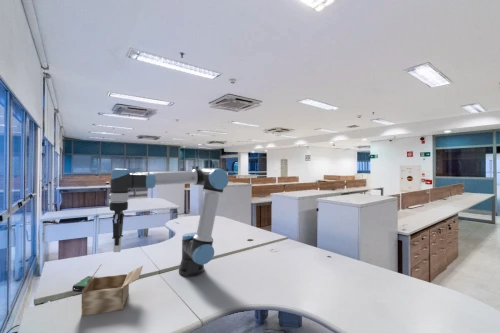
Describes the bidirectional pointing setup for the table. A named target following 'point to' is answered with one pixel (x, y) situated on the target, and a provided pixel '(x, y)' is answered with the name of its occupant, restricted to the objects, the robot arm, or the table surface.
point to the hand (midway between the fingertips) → (117, 251)
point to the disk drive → (82, 283)
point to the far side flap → (91, 278)
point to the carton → (105, 294)
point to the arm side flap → (133, 276)
